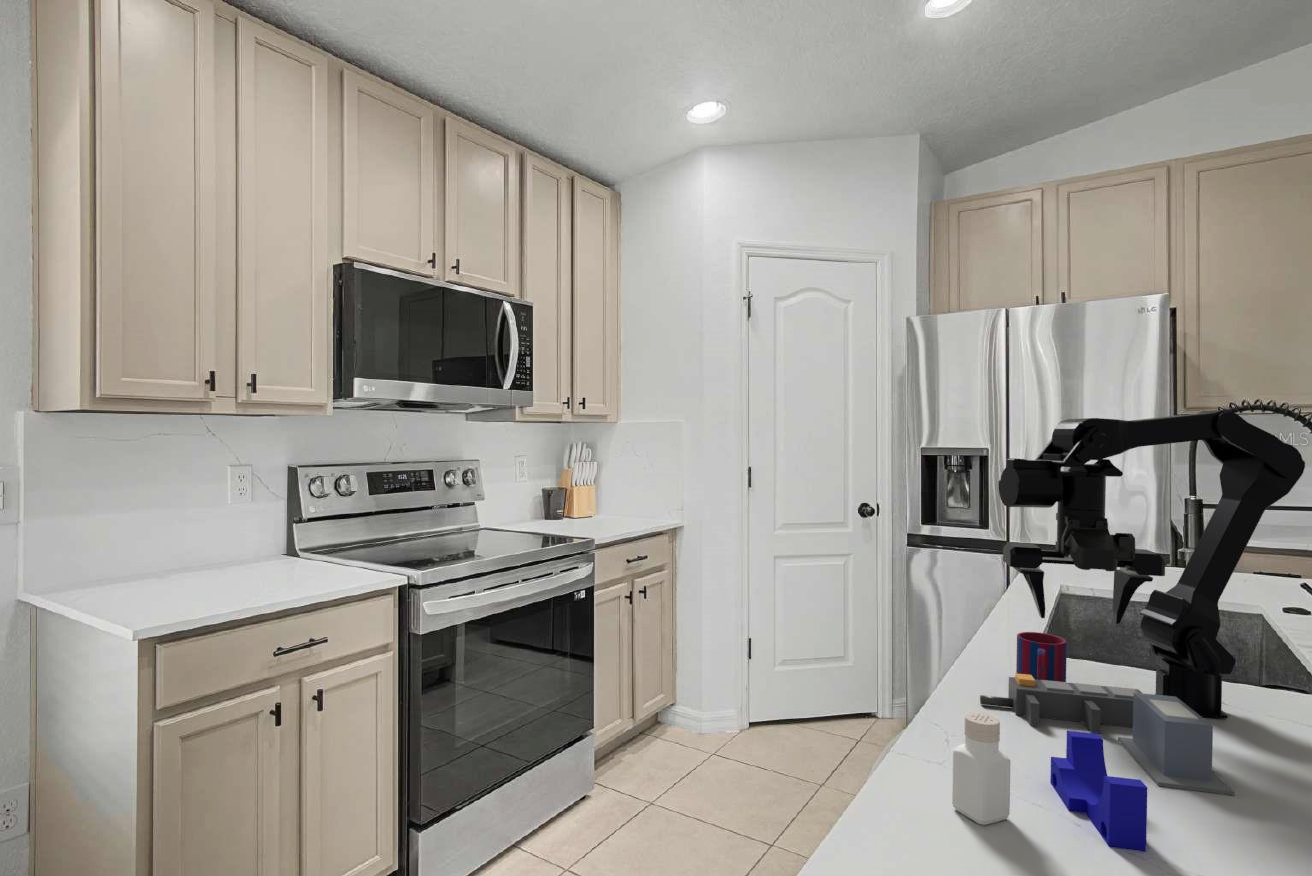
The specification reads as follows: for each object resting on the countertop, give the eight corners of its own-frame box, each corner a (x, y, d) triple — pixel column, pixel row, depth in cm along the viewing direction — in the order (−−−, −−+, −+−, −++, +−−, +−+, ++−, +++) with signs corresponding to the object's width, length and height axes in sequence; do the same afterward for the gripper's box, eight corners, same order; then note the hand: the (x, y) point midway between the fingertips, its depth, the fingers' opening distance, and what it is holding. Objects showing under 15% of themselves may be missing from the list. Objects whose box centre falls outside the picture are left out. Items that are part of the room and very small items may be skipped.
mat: (1183, 747, 86) (1183, 744, 86) (1234, 795, 75) (1234, 791, 75) (1118, 739, 88) (1118, 736, 88) (1157, 785, 77) (1157, 781, 77)
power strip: (1137, 715, 96) (1138, 683, 96) (1164, 740, 88) (1164, 706, 88) (977, 698, 102) (978, 668, 102) (988, 721, 94) (989, 688, 94)
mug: (1067, 680, 110) (1068, 636, 110) (1061, 699, 102) (1062, 652, 102) (1019, 671, 114) (1020, 629, 114) (1009, 689, 106) (1010, 643, 106)
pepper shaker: (982, 828, 68) (983, 728, 68) (949, 808, 71) (951, 713, 71) (1012, 820, 69) (1014, 722, 69) (978, 800, 73) (980, 708, 73)
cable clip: (1050, 784, 77) (1051, 728, 77) (1096, 789, 76) (1097, 733, 76) (1090, 846, 65) (1091, 780, 65) (1146, 853, 64) (1147, 787, 64)
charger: (1175, 746, 86) (1176, 695, 86) (1211, 781, 77) (1212, 724, 77) (1132, 741, 87) (1133, 691, 87) (1163, 775, 78) (1164, 719, 78)
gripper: (1020, 511, 94) (1018, 629, 94) (1184, 517, 89) (1182, 642, 89) (1003, 503, 105) (1001, 609, 105) (1149, 509, 100) (1147, 620, 100)
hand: (1078, 620), depth 99 cm, fingers open, 9 cm apart
